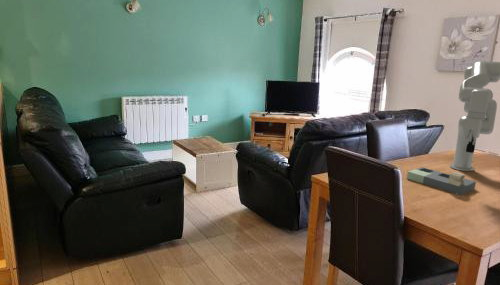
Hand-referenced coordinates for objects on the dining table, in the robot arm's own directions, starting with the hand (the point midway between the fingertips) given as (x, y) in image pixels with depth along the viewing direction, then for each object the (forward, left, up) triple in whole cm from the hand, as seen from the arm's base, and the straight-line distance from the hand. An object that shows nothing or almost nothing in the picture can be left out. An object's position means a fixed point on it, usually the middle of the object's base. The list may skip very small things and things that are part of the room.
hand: (469, 151), depth 179 cm
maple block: (+8, -1, -15) cm, 17 cm away
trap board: (+3, -10, -19) cm, 22 cm away
